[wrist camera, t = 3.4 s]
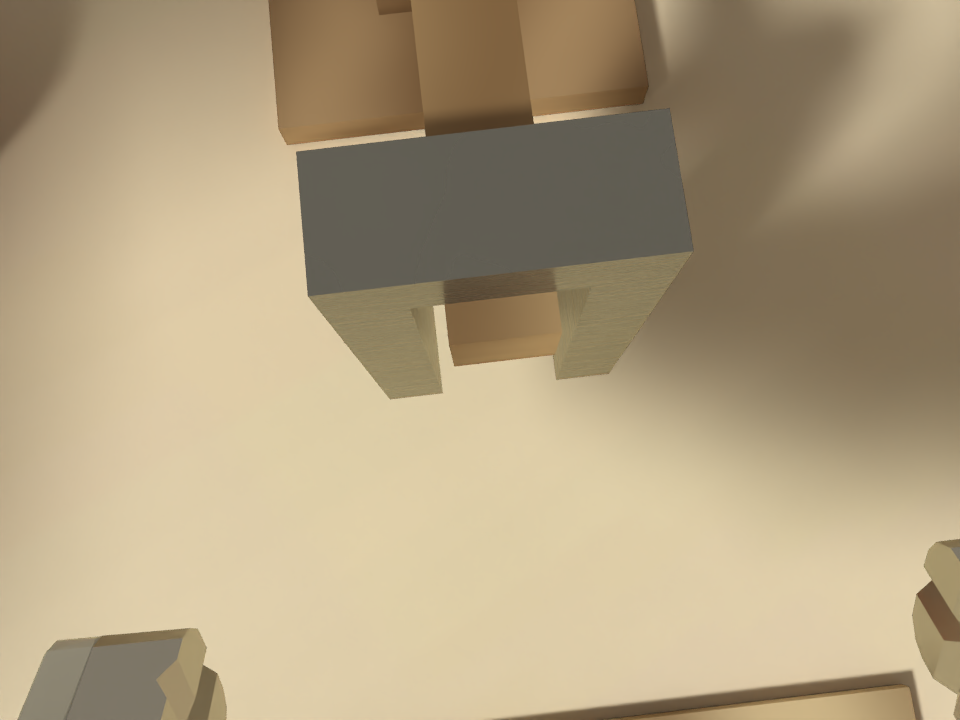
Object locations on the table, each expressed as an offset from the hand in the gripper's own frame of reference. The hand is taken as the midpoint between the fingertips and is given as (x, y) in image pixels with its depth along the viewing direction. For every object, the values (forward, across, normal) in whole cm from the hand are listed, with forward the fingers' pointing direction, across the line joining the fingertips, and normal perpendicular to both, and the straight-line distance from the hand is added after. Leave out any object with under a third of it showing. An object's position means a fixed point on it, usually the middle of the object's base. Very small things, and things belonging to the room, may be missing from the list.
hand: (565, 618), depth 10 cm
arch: (+11, 0, +3) cm, 11 cm away
